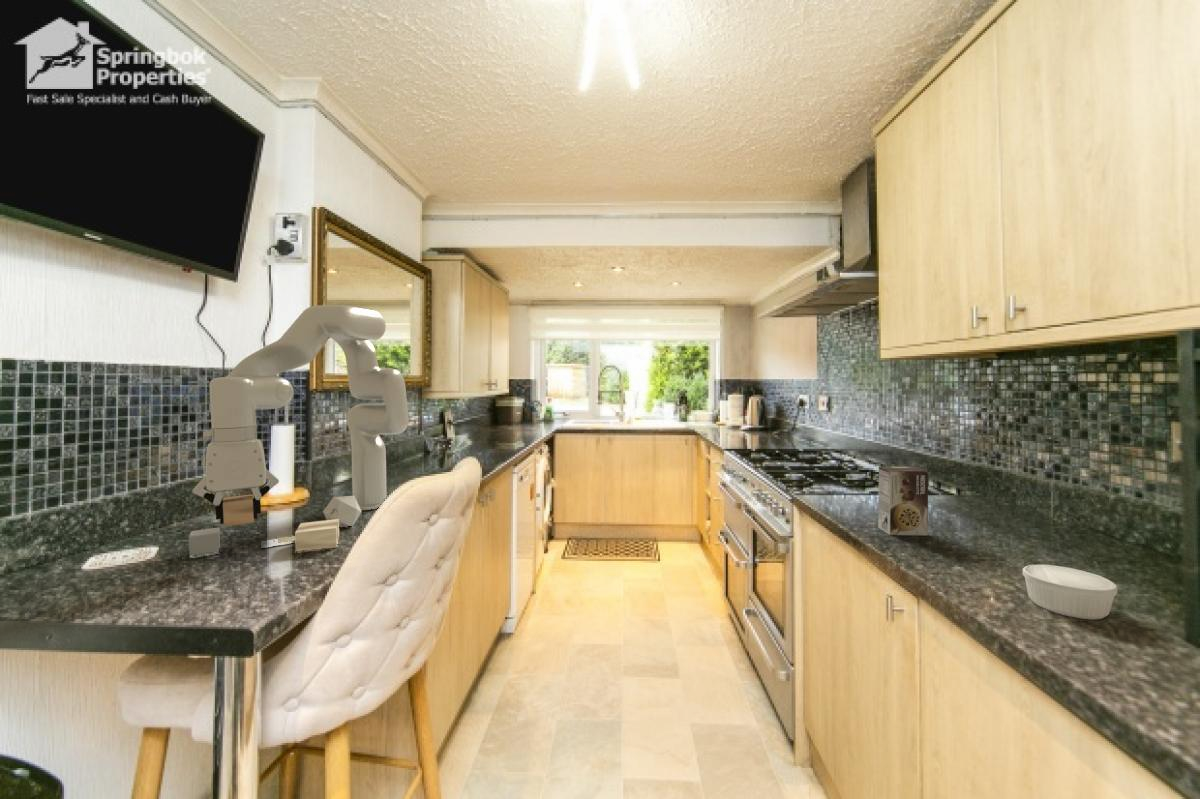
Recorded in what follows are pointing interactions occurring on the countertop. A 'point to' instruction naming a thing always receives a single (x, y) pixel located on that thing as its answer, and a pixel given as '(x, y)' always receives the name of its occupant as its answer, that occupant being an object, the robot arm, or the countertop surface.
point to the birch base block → (317, 535)
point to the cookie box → (903, 500)
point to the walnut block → (238, 510)
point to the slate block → (204, 541)
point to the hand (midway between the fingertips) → (239, 518)
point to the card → (286, 539)
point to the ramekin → (1069, 591)
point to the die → (343, 510)
